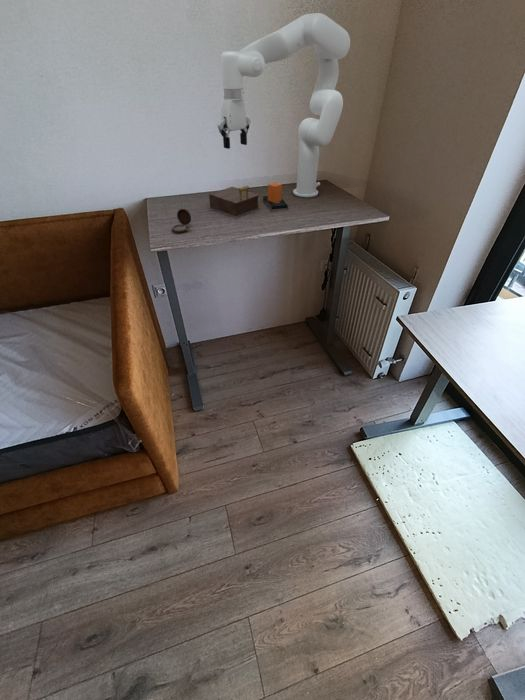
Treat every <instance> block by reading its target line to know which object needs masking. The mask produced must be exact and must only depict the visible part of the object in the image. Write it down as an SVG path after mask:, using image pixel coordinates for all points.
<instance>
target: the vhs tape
mask: <svg viewBox="0 0 525 700" xmlns="http://www.w3.org/2000/svg"><path fill="white" fill-rule="evenodd" d="M262 200H263V201H264V202H265V203H266V204H267V205H268V207H269V208H270V209H271V210H281V209H288V207H289V206H288V204H287V203H286V201H285V200H284V199H283V198H281V201H279V202H276V203H274V202H271V201H268V195H263V197H262Z"/></svg>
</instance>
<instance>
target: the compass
mask: <svg viewBox="0 0 525 700" xmlns="http://www.w3.org/2000/svg"><path fill="white" fill-rule="evenodd" d="M176 216H177V220H178V222H179V223H180V224H175V225H174V226H172V228H171V231H172V232H173V233H175V234H184V233H186V232H190V231H191V230H192V229H190V228H189V227H188V225H189V224H190V223H191V222H192V216H191V213H190V212H189V210H188V209H186V208H180V209H179V210H178V211H177V213H176Z"/></svg>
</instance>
